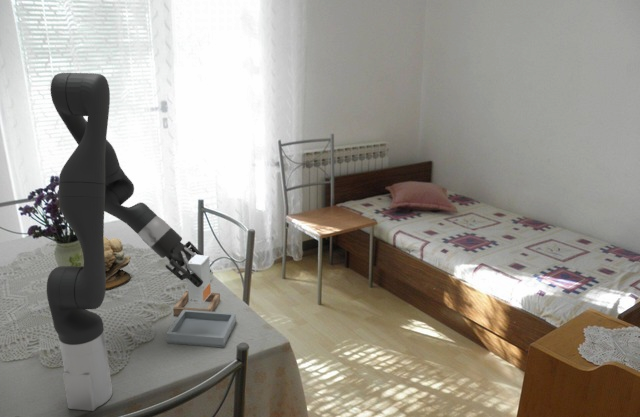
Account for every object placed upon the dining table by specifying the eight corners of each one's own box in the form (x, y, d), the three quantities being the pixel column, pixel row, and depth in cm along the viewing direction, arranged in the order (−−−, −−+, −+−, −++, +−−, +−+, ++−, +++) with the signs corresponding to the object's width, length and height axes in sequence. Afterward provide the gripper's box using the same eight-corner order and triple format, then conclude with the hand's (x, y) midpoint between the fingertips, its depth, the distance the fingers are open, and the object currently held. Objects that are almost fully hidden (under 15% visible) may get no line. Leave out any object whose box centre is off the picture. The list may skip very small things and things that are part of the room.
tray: (223, 347, 142) (223, 338, 141) (167, 343, 144) (166, 333, 143) (236, 322, 154) (235, 313, 153) (183, 318, 156) (183, 309, 155)
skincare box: (203, 304, 142) (200, 264, 138) (188, 302, 143) (185, 263, 139) (211, 294, 148) (209, 255, 144) (197, 292, 149) (195, 253, 145)
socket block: (209, 318, 156) (208, 311, 155) (173, 315, 157) (173, 308, 156) (220, 300, 166) (219, 293, 166) (186, 298, 167) (186, 291, 167)
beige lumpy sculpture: (126, 269, 186) (121, 225, 181) (138, 282, 178) (134, 235, 172) (72, 283, 176) (66, 236, 170) (83, 297, 167) (76, 248, 161)
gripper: (157, 238, 133) (205, 283, 135) (178, 218, 146) (221, 259, 149) (139, 256, 135) (187, 299, 138) (161, 235, 148) (204, 275, 151)
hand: (204, 278), depth 143 cm, fingers closed on skincare box, 6 cm apart
